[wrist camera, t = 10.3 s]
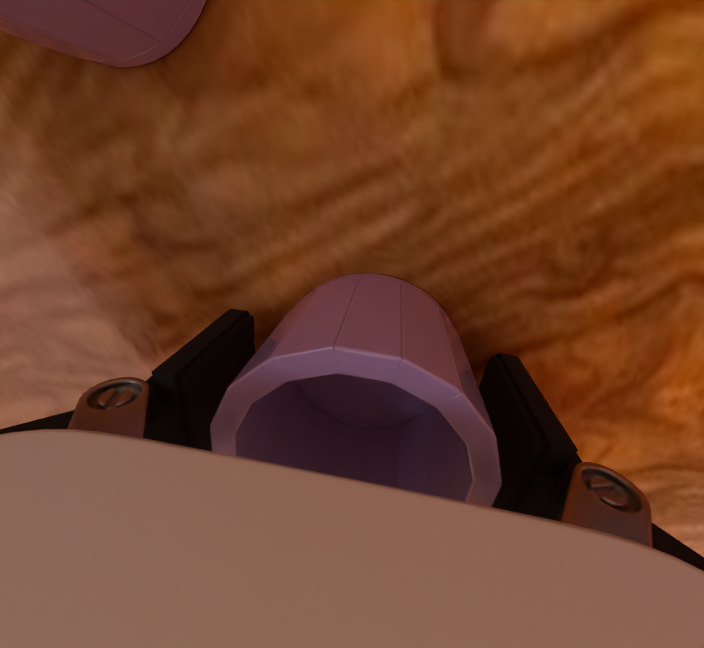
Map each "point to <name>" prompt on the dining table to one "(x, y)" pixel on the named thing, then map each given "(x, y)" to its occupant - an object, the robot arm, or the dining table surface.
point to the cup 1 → (103, 27)
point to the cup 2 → (365, 394)
